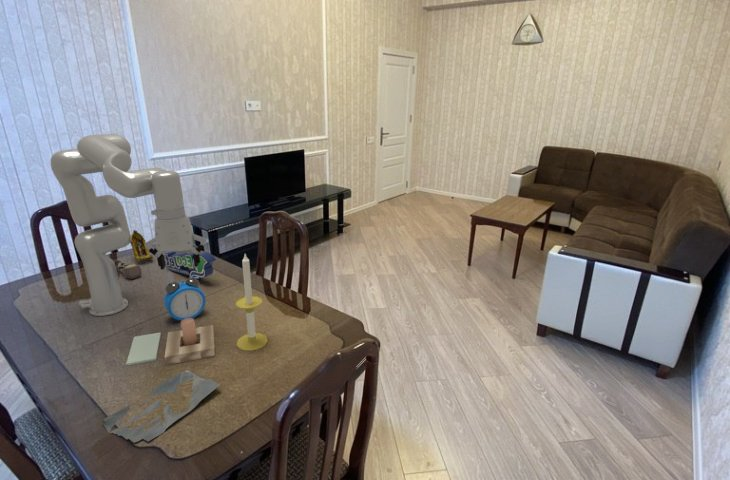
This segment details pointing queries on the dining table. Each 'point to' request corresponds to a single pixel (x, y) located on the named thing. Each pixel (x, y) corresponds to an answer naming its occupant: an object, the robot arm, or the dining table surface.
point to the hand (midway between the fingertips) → (180, 266)
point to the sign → (190, 264)
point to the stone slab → (200, 391)
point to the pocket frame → (191, 352)
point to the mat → (144, 349)
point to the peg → (189, 331)
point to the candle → (249, 313)
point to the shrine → (139, 247)
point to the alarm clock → (184, 299)
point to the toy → (129, 270)
